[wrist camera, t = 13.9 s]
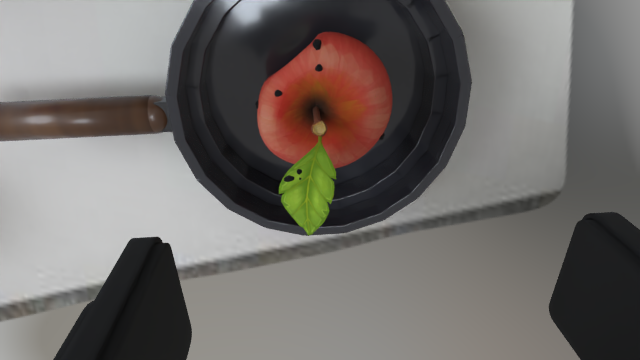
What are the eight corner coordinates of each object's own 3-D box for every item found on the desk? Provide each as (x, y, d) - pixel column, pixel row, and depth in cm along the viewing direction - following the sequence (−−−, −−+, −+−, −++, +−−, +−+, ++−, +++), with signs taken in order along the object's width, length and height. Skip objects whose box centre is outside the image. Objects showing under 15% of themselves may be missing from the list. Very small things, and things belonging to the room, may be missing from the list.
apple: (251, 29, 23) (228, 70, 14) (373, 15, 23) (426, 47, 14) (273, 154, 26) (265, 249, 17) (377, 141, 26) (422, 230, 18)
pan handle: (186, 89, 22) (177, 100, 20) (192, 124, 23) (184, 137, 21) (-37, 99, 21) (-66, 111, 20) (-21, 134, 22) (-48, 149, 21)
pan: (456, -62, 22) (494, -68, 18) (428, 191, 29) (450, 226, 25) (161, -54, 21) (132, -58, 17) (208, 204, 28) (195, 242, 24)
